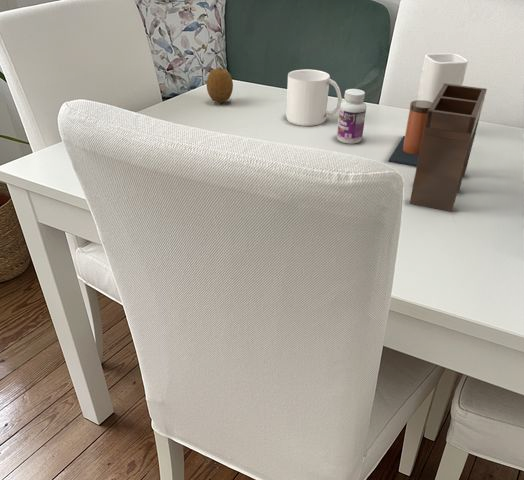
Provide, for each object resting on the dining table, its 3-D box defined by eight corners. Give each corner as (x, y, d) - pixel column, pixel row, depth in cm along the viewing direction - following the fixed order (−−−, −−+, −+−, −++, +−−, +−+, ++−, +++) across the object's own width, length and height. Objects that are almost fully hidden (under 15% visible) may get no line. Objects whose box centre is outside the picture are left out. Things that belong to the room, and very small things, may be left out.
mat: (439, 143, 119) (439, 141, 119) (427, 168, 109) (427, 166, 109) (403, 137, 121) (403, 135, 121) (388, 161, 111) (388, 159, 111)
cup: (408, 126, 126) (422, 53, 117) (439, 125, 127) (455, 52, 118) (421, 138, 121) (436, 63, 111) (453, 137, 122) (471, 61, 112)
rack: (464, 175, 107) (486, 88, 97) (451, 211, 96) (475, 117, 86) (426, 169, 109) (444, 83, 99) (409, 203, 98) (427, 110, 88)
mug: (280, 122, 127) (281, 78, 121) (293, 110, 134) (295, 67, 127) (331, 130, 124) (336, 85, 118) (343, 117, 130) (347, 74, 124)
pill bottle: (331, 139, 120) (335, 91, 114) (347, 133, 123) (352, 85, 117) (351, 146, 117) (357, 97, 111) (367, 140, 120) (373, 91, 114)
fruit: (207, 99, 139) (205, 63, 134) (232, 98, 139) (231, 63, 134) (207, 107, 134) (206, 71, 129) (234, 107, 135) (233, 70, 130)
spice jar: (427, 148, 116) (437, 102, 110) (423, 156, 113) (433, 109, 107) (404, 144, 117) (412, 98, 111) (400, 152, 114) (408, 106, 108)
